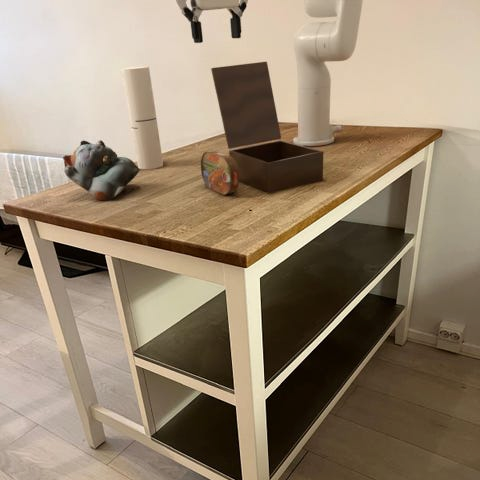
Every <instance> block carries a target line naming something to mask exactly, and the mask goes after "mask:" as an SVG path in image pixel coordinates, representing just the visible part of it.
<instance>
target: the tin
mask: <svg viewBox="0 0 480 480" xmlns="http://www.w3.org/2000/svg"><path fill="white" fill-rule="evenodd" d="M200 172H201V176H202V180H203V183H204V185H205V186H206V187H207V188H208V189H210V190H212V191H215V192H216V193H218V194H221V195H222V196H225V195H229V194H235V193H236V192H237V191H238V189H239V186H240V181H239V169H238V165H237V163H236V161H235V159H234V158H233V157H231V156H230V155H228V154H226V153H222V152H220V151H216V150H215V151H212V150H211V151H205V152H203V154H202V155H201V159H200Z"/></svg>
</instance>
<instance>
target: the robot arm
mask: <svg viewBox="0 0 480 480" xmlns="http://www.w3.org/2000/svg"><path fill="white" fill-rule="evenodd" d="M187 1H188V0H176V4H177V6H178V8H179V9H180V11H181V14H182V15H183V16H184V17H185V18H186V19H187V21H188V23H190V30H191V37H192V39H193V43H194V44H202V43H203V42H204V39H203V29H202V21H201V20H200V17H201V15H202V13H203V11H204V12H205V11H214V10H215V11H216V10H224V9H226V10H227V11H228V13H229V14H230V15H231V17H230V19H229V23H230V35H231V36H230V37H231V38H232V39H241V38H242V19H241V18H242V17H243V14H244V13H245V11H246V8H247V6H248V5H247V4H248V2H249V0H189V4H190V7H191V8H189V7H188V5H187ZM363 1H364V0H304V3H303V4H304V11H305V13H306V14H307V16H309V17H310V18H314V19H315V18H317V19H321V18H322V19H323V18H334V17H336V20H335V21H317V22H309V23H305V24H303V25H301V26H300V27H299V28H298V29H297V30H296V32H295V34H294V36H293V37H294V38H293V49H294V50H293V51H294V56H295V61H296V71H297V72H296V73H297V136H295V137H293V140H292V143H293V144H297V145H300V146H304V147H319V146H320V147H321V146H325V145H330V144H332V143H334V142H335V136H334V135H333V134H334V133H340V132H342V130H343V126H342V125H341V124H338V125H334V126H333V124H330V118H331V86H332V85H331V84H332V83H331V82H332V81H331V80H332V79H331V74H330V70H329V68H328V66H327V65H326V63H327V62H345V61H348V60H349V59H350V58H351V57H352V56H353V54H354V52H355V49H356V46H357V40H358V33H359V27H360V21H361V16H362V8H363ZM199 20H200V21H199Z"/></svg>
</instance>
